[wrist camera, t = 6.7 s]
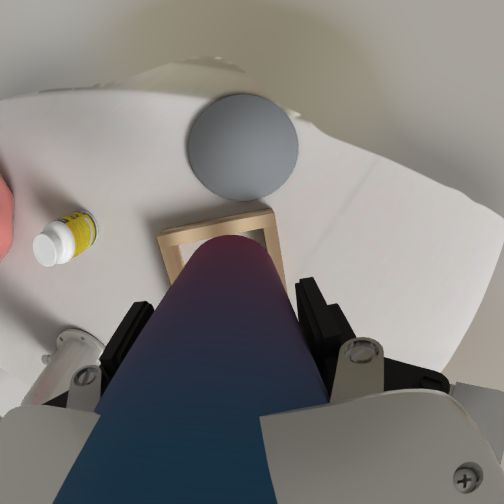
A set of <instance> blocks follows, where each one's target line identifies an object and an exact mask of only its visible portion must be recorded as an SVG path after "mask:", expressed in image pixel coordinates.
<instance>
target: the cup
mask: <svg viewBox="0 0 504 504" xmlns="http://www.w3.org/2000/svg"><path fill="white" fill-rule="evenodd" d="M327 403H330V398H329V396H328V393H327V391H326V388H325V386H324V383H323V381H322V378H321V376H320V373H319V371H318V368H317V366H316V363H315V361H314V359H313V356H312V354H311V351H310V349H309V346H308V344H307V341H306V339H305V337H304V334H303V332H302V329H301V327H300V324H299V322H298V320H297V317H296V315H295V312H294V310H293V307H292V305H291V303H290V300H289V298H288V295H287V293H286V291H285V288H284V286H283V284H282V281H281V279H280V276H279V274H278V272H277V269H276V267H275V265H274V262H273V260H272V258H271V256H270V255H269V253H268V252H267V251H266V250H265V249H264V248H263V247H262V246H261V245H260V244H259V243H257V242H255V241H254V240H252V239H249V238H247V237H244V236H239V235H222V236H218V237H215V238H212V239H210V240H208V241H206V242H205V243H203V244H202V245H201V246H200V247H199V248H198V249H197V250H196V251H195V252H194V253H193V255H192V256H191V258H190V259H189V261H188V262H187V264H186V265H185V266H184V268H183V269H182V271H181V272H180V274H179V275H178V277H177V278H176V280H175V281H174V283H173V284H172V285H171V287H170V288H169V290H168V291H167V293H166V294H165V296H164V297H163V299H162V300H161V302H160V303H159V305H158V307H157V308H156V310H155V311H154V313H153V314H152V316H151V317H150V319H149V320H148V322H147V323H146V325H145V327H144V328H143V330H142V331H141V333H140V334H139V336H138V338H137V339H136V341H135V342H134V344H133V346H132V347H131V349H130V350H129V352H128V354H127V355H126V357H125V358H124V360H123V362H122V363H121V365H120V367H119V368H118V370H117V372H116V373H115V375H114V377H113V378H112V380H111V382H110V383H109V385H108V387H107V389H106V390H105V392H104V394H103V395H102V397H101V399H100V401H99V402H98V404H97V406H96V408H95V409H94V411H93V412H94V413H96V414H98V415H101V416H100V417H99V419H98V421H97V423H96V424H95V426H94V428H93V430H92V431H91V433H90V435H89V437H88V439H87V440H86V442H85V444H84V446H83V448H82V450H81V451H80V453H79V455H78V457H77V458H76V460H75V462H74V464H73V466H72V467H71V469H70V471H69V473H68V475H67V477H66V479H65V480H64V482H63V484H62V486H61V488H60V490H59V492H58V494H57V496H56V497H55V499H54V501H53V503H52V504H278V503H277V499H276V495H275V491H274V487H273V483H272V479H271V475H270V471H269V467H268V462H267V457H266V451H265V446H264V440H263V435H262V429H261V423H260V418H259V417H260V416H265V415H269V414H274V413H279V412H284V411H289V410H294V409H299V408H306V407H311V406H317V405H322V404H327Z"/></svg>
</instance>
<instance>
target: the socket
mask: <svg viewBox="0 0 504 504" xmlns="http://www.w3.org/2000/svg"><path fill="white" fill-rule="evenodd" d="M261 228H263V231H264V237H265V242H266V248H267V252H268V253H269V255H270V256H271V258H272V260H273V262H274V265H275V267H276V269H277V272H278V274H279V276H280V279H281V281H282V284H283V286H284V288H285V291H286V293H287V288H286V282H285V275H284V269H283V262H282V256H281V250H280V244H279V238H278V231H277V226H276V220H275V214H274V211H273V210H272V208H269V209H264V210H258V211H253V212H248V213H243V214H238V215H232V216H227V217H222V218H218V219H213V220H208V221H203V222H198V223H194V224H189V225H184V226H180V227H175V228H171V229H166V230H163V231H162V232H161V233H160V234H159V235H158V236H157V240H158V243H159V247H160V250H161V253H162V257H163V260H164V263H165V267H166V270H167V273H168V276H169V279H170V282H171V285H172V284H173V283H174V281H175V280H176V278H177V277H178V275H179V274H180V272H181V271H182V269H183V268H184V262H183V259H182V255H181V252H180V248H179V245H180V244H185V243H190V242H194V241H199V240H204V239H209V238H214V237H218V236H222V235H230V234H235V233H240V232H245V231H250V230H256V229H261Z"/></svg>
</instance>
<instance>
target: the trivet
mask: <svg viewBox="0 0 504 504" xmlns="http://www.w3.org/2000/svg"><path fill="white" fill-rule="evenodd" d="M188 154H189V160H190V163H191V166H192V169H193V171H194V173H195V174H196V176H197V178H198V179H199V180H200V181H201V183H202V184H203V185H204V186H205V187H206V188H208V189H209V190H210V191H212V192H213V193H215V194H217V195H219V196H221V197H224V198H227V199H231V200H237V201H249V200H255V199H259V198H262V197H265V196H267V195H269V194H271V193H273V192H274V191H276V190H277V189H278V188H280V187H281V186H282V185H283V184H284V183H285V182H286V180H287V179H288V178H289V176H290V175H291V173H292V171H293V169H294V167H295V164H296V161H297V156H298V138H297V134H296V131H295V128H294V126H293V124H292V122H291V120H290V119H289V117H288V116H287V115H286V113H285V112H284V111H283V110H282V109H281V108H279V107H278V106H277V105H276V104H274V103H272V102H271V101H269V100H267V99H264V98H262V97H258V96H254V95H233V96H229V97H226V98H223V99H220V100H218V101H217V102H215V103H213V104H212V105H210V106H209V107H208V108H206V109H205V110H204V111H203V112H202V113H201V115H200V116H199V117H198V118H197V120H196V122H195V123H194V125H193V128H192V130H191V133H190V137H189V143H188Z"/></svg>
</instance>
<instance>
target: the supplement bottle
mask: <svg viewBox="0 0 504 504" xmlns="http://www.w3.org/2000/svg"><path fill="white" fill-rule="evenodd" d="M97 236H98V226H97V223H96V221H95V219H94V217H93V216H92V215H91V214H90V213H88V212H86V211H82V210H80V211H76V212H73V213H71V214H69V215H66V216H64V217H61V218H59V219H57V220H54V221H52V222H50V223H49V224H47V225H46V226H45V228H44V230H43V232H42V233H40V234H38V235H37V236H36V237H35V238H34V241H33V252H34V255H35V257H36V259H37V260H38V262H39V263H40V264H42V265H43V266H46V267H50V266H52V265H54V264H55V263H57V264H64V263H66V262H68V261H69V260H71V259H72V258H74V257H75V256H77V255H78V254H80V253H81V252H83V251H84V250H85V249H87V248H89V247H90V246H91V245H93V244H94V242H95V241H96V239H97Z"/></svg>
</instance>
